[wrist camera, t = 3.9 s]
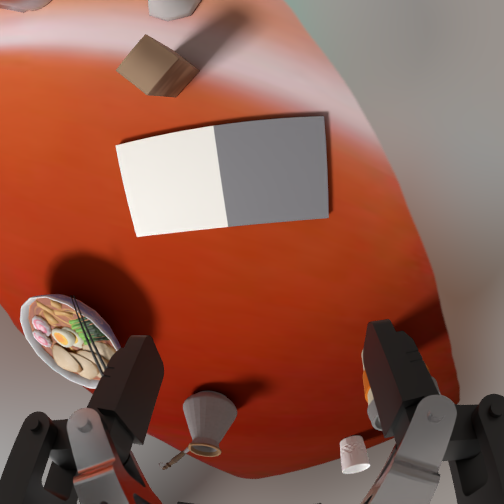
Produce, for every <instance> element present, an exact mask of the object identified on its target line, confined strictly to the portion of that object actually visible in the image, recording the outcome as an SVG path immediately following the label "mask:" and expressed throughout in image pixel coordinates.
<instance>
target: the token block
mask: <svg viewBox="0 0 504 504" xmlns="http://www.w3.org/2000/svg"><path fill="white" fill-rule="evenodd" d="M116 71H117V72H118V73H120V74H121V75H122V76H123V77H125V78H126V79H127V80H129V81H130V82H131V83H132V84H134V85H135V86H136V87H137V88H139V89H140V90H141V91H142V92H144V93H145V94H146V95H153V96H166V97H177V96H178V94H179V93H180V92H181V91H182V90H183V89H184V88H185V87H186V85H187V84H188V83H189V82H190V81H191V80H192V79H193V78H194V77H195V76H196V75H197V74H198V72H199V70H198V69H197V68H196V67H194V66H193V65H192V64H191V63H189V62H188V61H187V60H185V59H184V58H183V57H181V56H180V55H179V54H178V53H176V52H175V51H173V50H172V49H170V48H168V47H167V46H165V45H163V44H162V43H160V42H158V41H156V40H155V39H153V38H151V37H149V36H148V35H146V34H145V35H144V37H143V38H142V39H141V40H140V41H139V42H138V44H137V45H136V46H135V47H134V48H133V49H132V51H131V52H130V53H129V54H128V56H127V57H126V58H125V59H124V61H123V62H122V63H121V64H120V66H119V67H118V68H117V70H116Z"/></svg>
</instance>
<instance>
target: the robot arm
mask: <svg viewBox="0 0 504 504" xmlns="http://www.w3.org/2000/svg"><path fill="white" fill-rule="evenodd" d="M50 1H51V0H0V8H1V9H7V10H13V11H18V12H23V13H24V12H26V11H28V10H31V11H34V10H38V9H41V8H42V7H44V6H45V5H47V4H48V3H49V2H50ZM363 363H364V368H365V371H366V374H367V378H368V381H369V384H370V388H371V391H372V394H373V398H374V401H375V405H376V408H377V412H378V416H379V419H380V423H381V427H382V430H383V434H384V438H387V437H391V436H394V438H395V441H396V444H395V446H394V448H393V450H392V452H391V454H390V456H389V458H388V460H387V461H386V463H385V465H384V467H383V469H382V471H381V472H380V474H379V476H378V478H377V479H376V481H375V483H374V484H373V486H372V488H371V489H370V490H369V492H368V493H367V495H366V496H365V498H364V499H363V501H362V502H361V504H429V503H430V501H431V499H432V497H433V495H434V493H435V490H436V488H437V486H438V483H439V480H440V474H438V471H439V467H440V465H441V462H442V461H448V462H449V466H450V470H451V474H452V479H453V483H454V488H455V493H456V498H457V503H458V504H504V397H503V396H501V395H498V394H490V395H487V396H486V397H484V398H483V399H482V400H481V402H480V403H479V405H455V404H454V403H453V402H452V401H451V400H450V399H449V398H447V397H445V396H442V395H440V394H439V392H438V390H437V388H436V386H435V384H434V382H433V379H432V377H431V375H430V373H429V371H428V369H427V367H426V365H425V363H424V361H423V360H422V357H421V355H420V353H419V352H418V349H417V347H416V345H415V343H414V341H413V339H412V338H411V337H410V336H408V335H407V334H406V333H405V332H404V331H399V332H396V331H395V329H394V327H393V325H392V323H391V321H390V320H389V319H385V320H379V321H372V322H369V323H368V326H367V332H366V338H365V343H364V349H363ZM163 376H164V366H163V362H162V360H161V358H160V355H159V353H158V351H157V348H156V346H155V344H154V341H153V339H152V337H151V336H148V335H131V336H130V337H129V339H128V341H127V343H126V345H125V347H124V348H119V349H118V350H117V351H116V352H115V353H114V354H113V355H112V356H111V358H110V360H109V362H108V364H107V366H106V369H105V370H104V372H103V374H102V377H101V379H100V381H99V383H98V385H97V387H96V389H95V391H94V393H93V396H92V398H91V400H90V402H89V404H88V406H87V408H82V409H79V410H77V411H75V412H74V413H73V414H72V415H71V416H70V418H69V419H65V420H53V421H52V420H51V419H50V418H49V417H48V416H47V415H46V414H45V413H43V412H34V413H32V414H30V415H29V416H28V417H27V418H26V419H25V421H24V422H23V425H22V427H21V429H20V432H19V434H18V436H17V438H16V441H15V443H14V445H13V448H12V450H11V453H10V455H9V458H8V460H7V463H6V466H5V468H4V471H3V474H2V477H1V480H0V504H77V500H78V499H79V502H80V504H162V502H161V501H160V500H159V499H158V497H157V496H156V495H155V494H154V493H153V491H152V490H151V488H150V487H149V485H148V483H147V481H146V479H145V477H144V475H143V473H142V472H141V469H140V467H139V466H138V463H137V461H136V459H135V457H134V455H133V453H132V451H131V447H132V443H134V444H140V445H143V444H144V440H145V436H146V433H147V430H148V426H149V423H150V419H151V416H152V413H153V409H154V406H155V403H156V399H157V396H158V393H159V390H160V386H161V383H162V380H163ZM48 458H50V459H51V460H52V464H51V467H50V470H49V473H48V476H47V479H46V482H45V485H44V488H43V486H42V481H41V480H42V476H43V473H44V470H45V467H46V463H47V461H48ZM177 504H191V503H184V502H178V503H177ZM319 504H321V503H319Z"/></svg>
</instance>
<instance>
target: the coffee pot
mask: <svg viewBox="0 0 504 504" xmlns="http://www.w3.org/2000/svg"><path fill="white" fill-rule="evenodd" d="M183 410H184V413H185V417H186V420H187V423H188V427H189V430H190V433H191V436H192V439H193V441H192V442H191V443H190V444H189V446H188V447H187V448H186V449H185V450H184V451H182V452H181V453H179V454H178V455H176V456H175V457H174V458H172V460H171V461H170V462H169V463H166V465H165V464H164V465H165V466H164V467H163V468H162V467H161V468H162V469H163V470H165V469H167V468H168V467H171V465H172V464H174V463H176V462H177V461H178V460H180V459H181V458H182V457H183V456H184V455H185V454H186V453H187V452H188V451H191V452H192V453H194V454H197V455H200V456H206V457H214V456H218V455H220V454H221V450H220V448H219V443H220V441H221V440H222V438H223V437H224V435H225V434H226V432H227V430H228V429H229V427H230V426H231V424H232V423H233V421H234V419H235V418H236V416H237V410H236V407H235V405H234V404H233V403H232V401H230V400H229V399H228V398H227V397H226V396H224V395H223V394H221V393H218V392H215V391H201V392H198V393H196V394H193V395H191V396H190V397H188V398H187V399H186V400H185V402H184V404H183ZM159 466H160V464H159Z"/></svg>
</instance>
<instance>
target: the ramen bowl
mask: <svg viewBox="0 0 504 504" xmlns="http://www.w3.org/2000/svg"><path fill="white" fill-rule="evenodd" d="M70 296H71V295H70ZM73 297H74V298H72V296H71V297H68V296H65V295H61V294H49V295H41V296H35V297H31V298H29V299H28V300H27V301H26V302H25V303H24V304H23V305H22V306H21V315H20V322H21V325H22V328H23V331H24V334H25V337H26V339H27V340H28V342H29V343H30V345H31V346H32V348H33V349H34V350H35V352H36V353H37V355H38V356H39V357H41V359H42V360H44V362H46V364H48V365H49V366H50V367H51V368H52V369H53V370H54V371H56V372H58V373H59V374H61V375H62V376H64V377H65V378H67V379H68V380H70V381H72V382H75V383H77V384H80V385H82V386H85V387H88V388H94V389H96V387H97V385H98V383H99V381H100V379H101V377H102V374H103V372H104V370H105V369H106V366H107V364H108V362H109V360H110V358H111V356H112V355H113V354H114V353H115V352H116V351H117V350H118V349H119V348H121V346H120V344H119V342H118V340H117V338H116V336H115V335H114V333H113V331H112V329H111V328H110V326H109V324H108V323H107V322H106V321H105V320H104V319H103V318H102V317H101V316H100V315H99V314H98V313H97V312H96V311H95V310H94V309H92V308H90V307H89V306H87V305H86V304H84V303H83V302H81V301H80V300H77V299H75V296H73Z"/></svg>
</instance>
